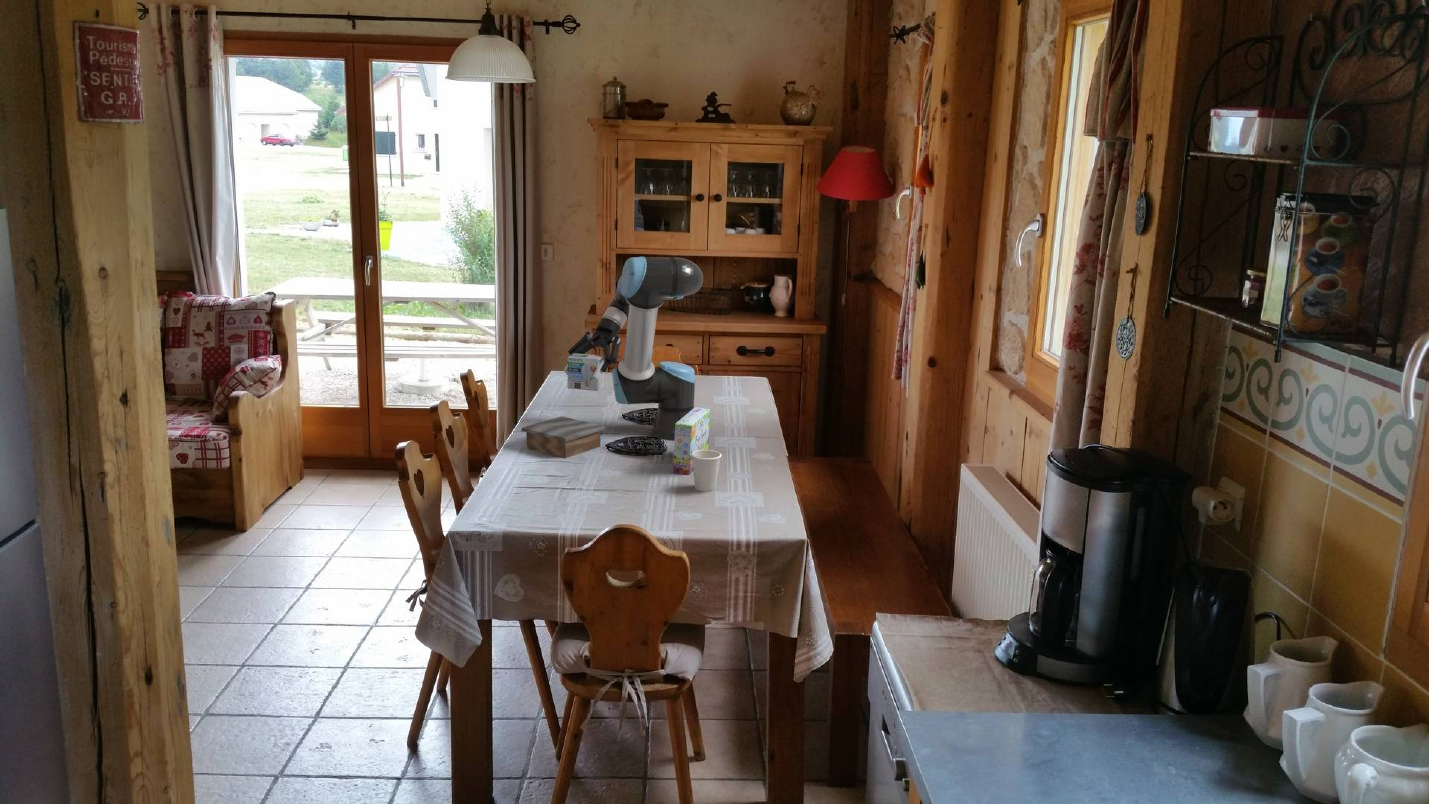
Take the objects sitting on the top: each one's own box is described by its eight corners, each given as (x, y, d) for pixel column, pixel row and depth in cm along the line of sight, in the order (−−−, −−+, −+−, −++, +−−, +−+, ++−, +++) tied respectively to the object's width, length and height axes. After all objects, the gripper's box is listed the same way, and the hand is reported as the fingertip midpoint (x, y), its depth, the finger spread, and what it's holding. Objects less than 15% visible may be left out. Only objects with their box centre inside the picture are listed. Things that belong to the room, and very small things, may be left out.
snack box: (690, 475, 310) (692, 425, 306) (671, 473, 311) (673, 423, 308) (709, 455, 330) (711, 407, 326) (691, 453, 331) (693, 406, 328)
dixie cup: (709, 495, 294) (711, 460, 291) (684, 489, 298) (685, 454, 296) (725, 487, 301) (727, 453, 298) (700, 481, 305) (701, 447, 303)
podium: (605, 446, 335) (605, 426, 334) (565, 459, 321) (565, 438, 319) (561, 435, 345) (561, 416, 343) (521, 448, 330) (521, 427, 329)
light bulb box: (566, 389, 352) (566, 356, 350) (573, 384, 358) (573, 352, 356) (598, 391, 350) (598, 358, 348) (604, 387, 356) (604, 355, 354)
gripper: (644, 335, 356) (614, 387, 347) (589, 326, 369) (558, 377, 361) (634, 321, 351) (604, 374, 342) (578, 312, 364) (547, 364, 355)
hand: (580, 375), depth 351 cm, fingers closed on light bulb box, 12 cm apart
